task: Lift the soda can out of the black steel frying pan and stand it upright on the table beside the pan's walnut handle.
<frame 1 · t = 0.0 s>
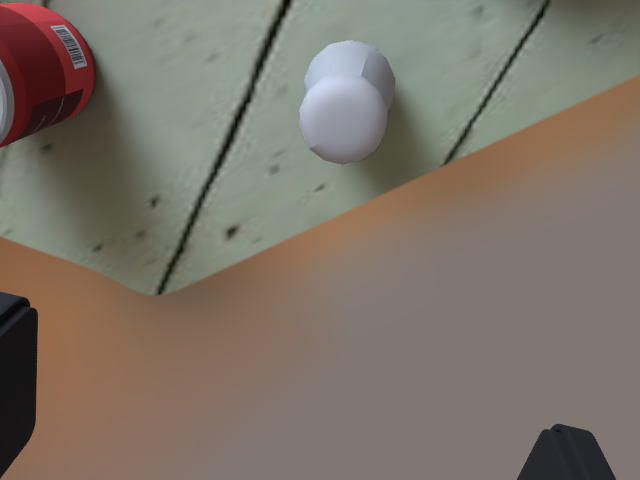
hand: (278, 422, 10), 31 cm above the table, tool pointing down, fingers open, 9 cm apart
canned food: (45, 62, 39), on the table
salt shaker: (350, 82, 38), on the table
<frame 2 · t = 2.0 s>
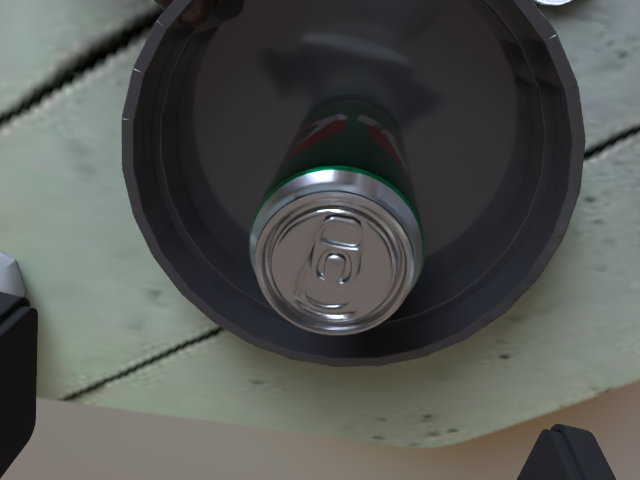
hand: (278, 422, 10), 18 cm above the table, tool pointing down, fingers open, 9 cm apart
pan: (349, 149, 26), on the table
soda can: (348, 150, 26), resting on pan
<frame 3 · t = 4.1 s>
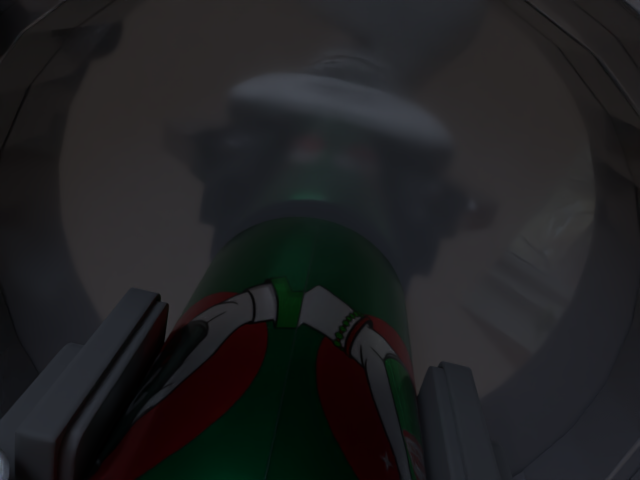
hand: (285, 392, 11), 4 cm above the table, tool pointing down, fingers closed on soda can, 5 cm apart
pan: (306, 294, 15), on the table
soda can: (305, 296, 15), resting on pan, touching gripper
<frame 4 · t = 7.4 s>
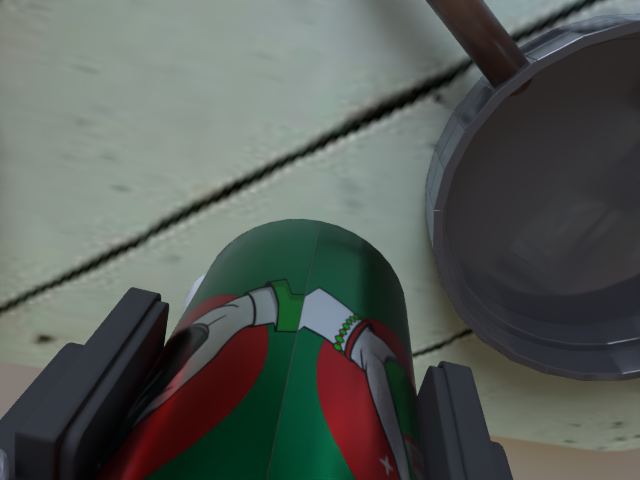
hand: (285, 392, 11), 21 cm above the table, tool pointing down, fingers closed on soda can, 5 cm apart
pan: (593, 193, 30), on the table
soda can: (306, 298, 15), point 17 cm above the table, touching gripper
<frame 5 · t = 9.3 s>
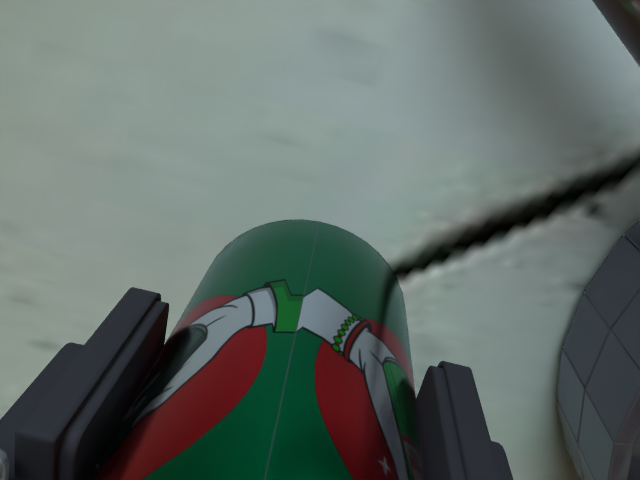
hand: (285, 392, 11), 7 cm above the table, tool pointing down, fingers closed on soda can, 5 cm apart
soda can: (305, 298, 15), point 3 cm above the table, touching gripper
when the fingers open (4 cm above the table, at t = 10.7 s): soda can stays where it is, on the table.
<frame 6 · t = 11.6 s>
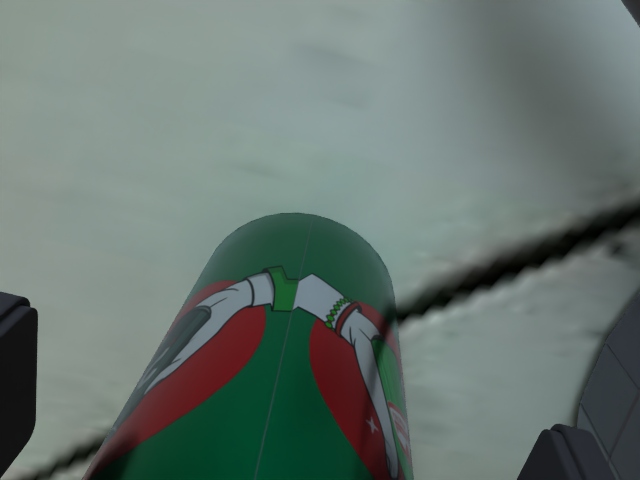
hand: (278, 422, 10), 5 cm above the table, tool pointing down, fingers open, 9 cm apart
soda can: (300, 288, 15), on the table
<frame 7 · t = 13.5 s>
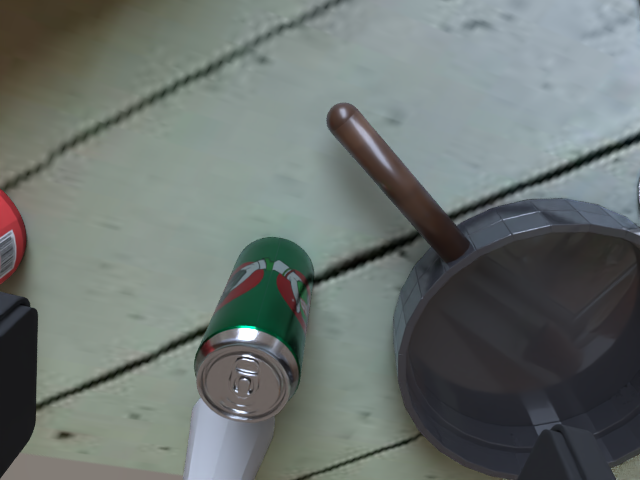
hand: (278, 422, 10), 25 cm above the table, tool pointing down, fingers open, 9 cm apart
pan: (530, 325, 37), on the table
soda can: (276, 268, 37), on the table
salt shaker: (239, 397, 41), on the table
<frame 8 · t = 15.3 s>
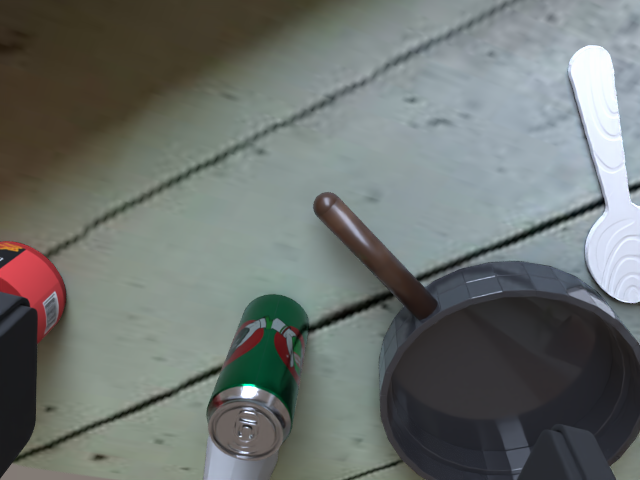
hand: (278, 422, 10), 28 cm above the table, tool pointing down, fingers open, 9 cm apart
pan: (497, 366, 43), on the table
spoon: (611, 183, 37), on the table
soda can: (277, 318, 43), on the table
canned food: (22, 283, 43), on the table
salt shaker: (249, 426, 47), on the table
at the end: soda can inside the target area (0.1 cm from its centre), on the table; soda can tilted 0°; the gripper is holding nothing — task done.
